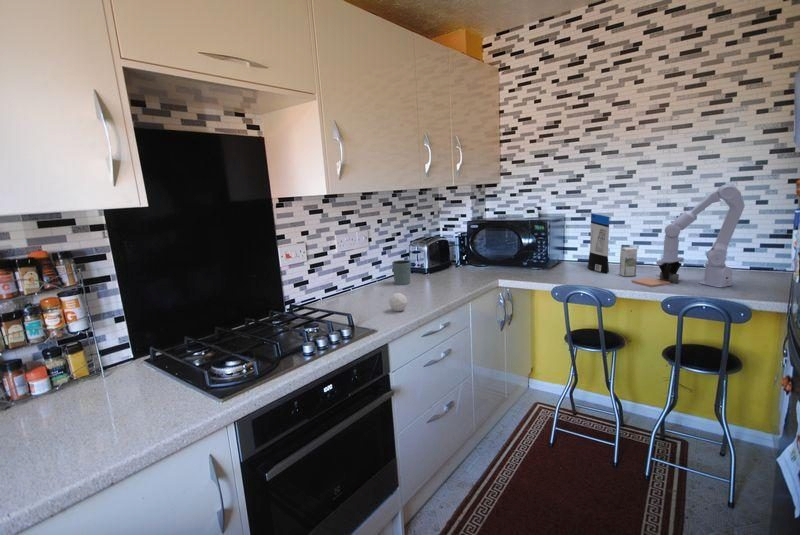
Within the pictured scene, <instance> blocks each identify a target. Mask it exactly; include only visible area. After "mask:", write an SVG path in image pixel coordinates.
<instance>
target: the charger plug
mask: <svg viewBox="0 0 800 535" xmlns="http://www.w3.org/2000/svg"><path fill="white" fill-rule="evenodd" d="M655 276H656V277H659V280H663V281H668V282H670V284H679V278H680V274H678V273H676V274H675V273H670V272H669V278H668V279H663V275H662V272H661V271H659V273H658V274H655Z"/></svg>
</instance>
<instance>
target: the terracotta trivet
mask: <svg viewBox="0 0 800 535" xmlns="http://www.w3.org/2000/svg"><path fill="white" fill-rule="evenodd" d="M631 283H633V284H637V285H641V286H645V287H649V288H655V287H661V286H667V285H670V284H671V283H670V282H668V281H663V280H660V278H659V279H657V278H654V277H644V278H638V279H636V278H635V279H632V280H631Z"/></svg>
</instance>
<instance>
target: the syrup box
mask: <svg viewBox="0 0 800 535" xmlns="http://www.w3.org/2000/svg"><path fill="white" fill-rule="evenodd" d="M619 258H620V259H619V275H620V276H622V277H636V276H637V273H636V272H637V259H638V248H637V247H635V246H622V247H621V246H620V256H619Z"/></svg>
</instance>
